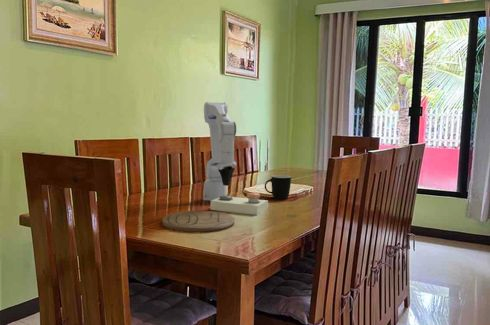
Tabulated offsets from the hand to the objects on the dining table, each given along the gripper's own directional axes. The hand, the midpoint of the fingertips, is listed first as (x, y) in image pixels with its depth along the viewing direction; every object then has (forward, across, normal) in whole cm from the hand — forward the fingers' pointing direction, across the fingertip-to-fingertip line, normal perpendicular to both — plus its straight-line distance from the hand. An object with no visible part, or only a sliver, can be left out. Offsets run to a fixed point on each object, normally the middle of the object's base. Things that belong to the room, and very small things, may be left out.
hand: (226, 185), depth 179 cm
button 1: (+8, 0, 0) cm, 8 cm away
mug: (+10, +31, -12) cm, 35 cm away
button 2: (+6, 0, -12) cm, 13 cm away
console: (+9, 0, -6) cm, 11 cm away
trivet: (+10, -27, -2) cm, 29 cm away
